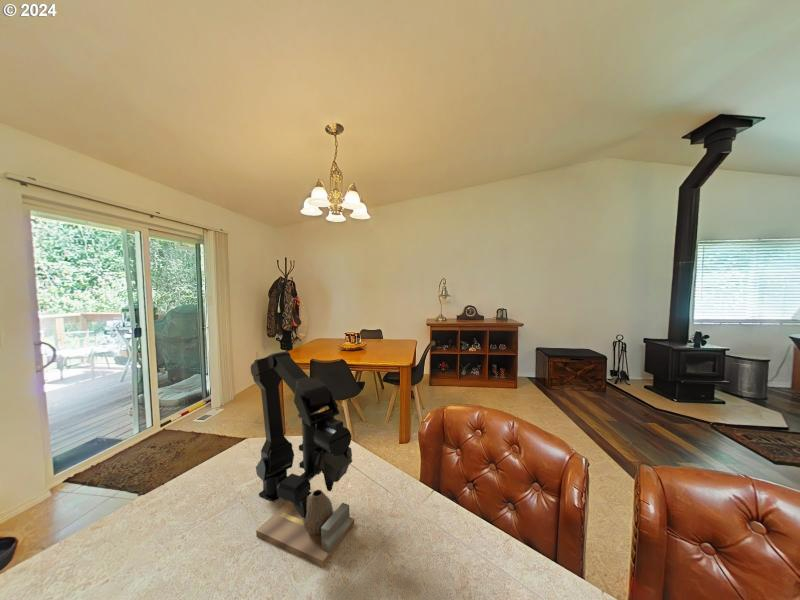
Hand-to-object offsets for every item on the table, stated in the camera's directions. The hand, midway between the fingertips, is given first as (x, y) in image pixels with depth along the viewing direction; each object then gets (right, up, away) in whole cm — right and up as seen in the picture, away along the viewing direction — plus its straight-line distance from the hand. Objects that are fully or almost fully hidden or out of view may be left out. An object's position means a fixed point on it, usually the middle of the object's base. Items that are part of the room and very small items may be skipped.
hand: (317, 503), depth 68 cm
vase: (0, -7, +1) cm, 7 cm away
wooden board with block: (-3, -8, +2) cm, 9 cm away
